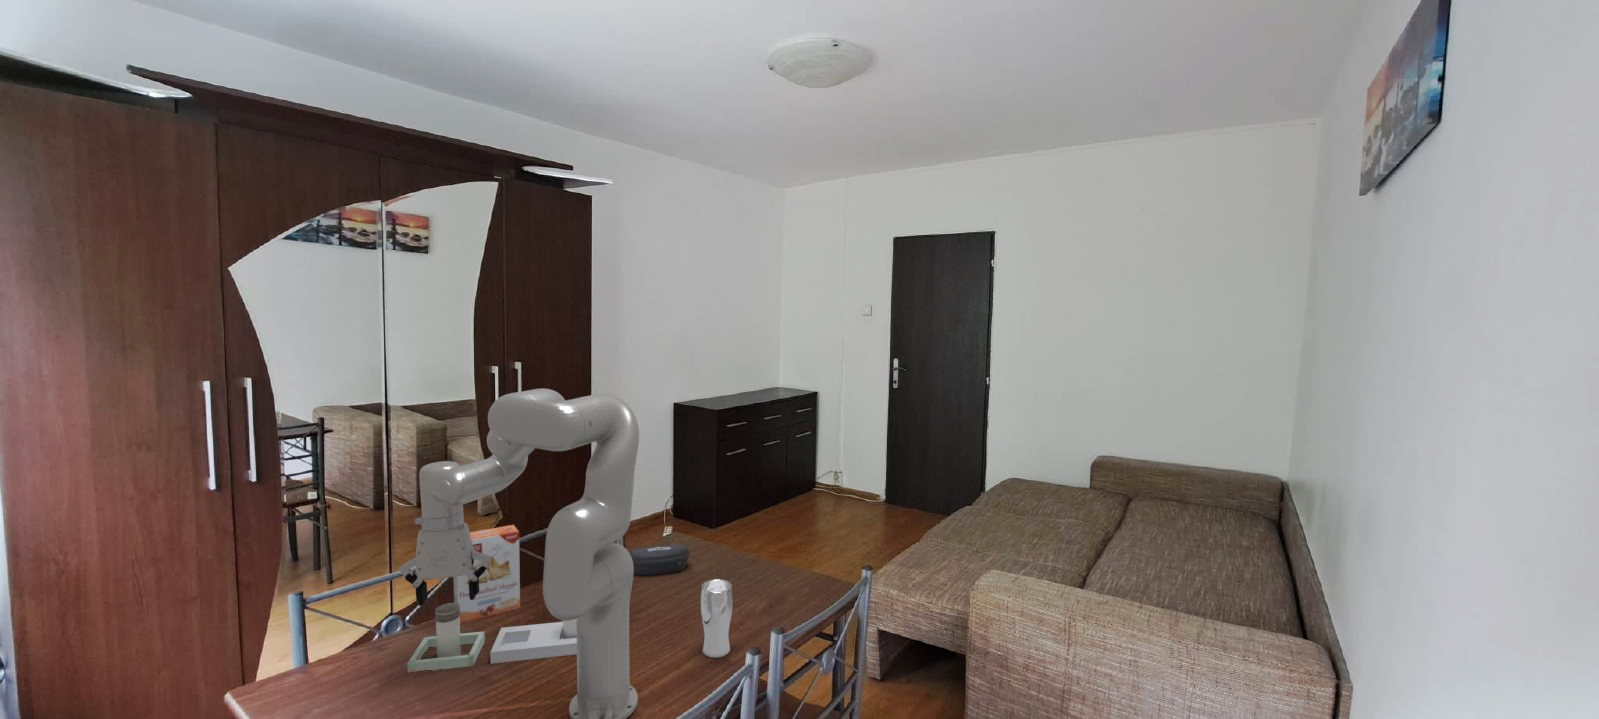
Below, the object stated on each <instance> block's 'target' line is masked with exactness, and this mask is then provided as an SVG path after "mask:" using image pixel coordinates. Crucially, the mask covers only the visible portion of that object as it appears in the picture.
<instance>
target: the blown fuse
mask: <svg viewBox="0 0 1599 719" xmlns="http://www.w3.org/2000/svg"><path fill="white" fill-rule="evenodd" d="M434 614H435V616H434V617H435V618H434V619H435V620H434V621H435V628H436V630H435V632H436V633H435V636H436V638H437V647H436V658H441V657H451V656H460V655H462V654H461V653H462V652H461V650H462V649H461V645H460V634H461V623H460V605H459V604H457V603H454V602H448V603H445V604H441V605H439V606H437V607H436V608H435V611H434Z"/></svg>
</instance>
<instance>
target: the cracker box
mask: <svg viewBox="0 0 1599 719" xmlns="http://www.w3.org/2000/svg"><path fill="white" fill-rule="evenodd" d="M470 535H471V539H472V545H473V550H474V551H477V552H480V553H483V554H486V555H489V556H491V560H490V563H489V565H488V567H487V569H486V570H485V572H484V573H483V574H482V575H481V576H480V577H479V593H478V594H477V595H476V597H475V598H474V600H471V599H470V598H469V581H470V579H469V578H468V577H467V576H466V575H462V576H456V577H452V578H453V603H457V604H459V605H460V624H462V623H463V624H464V623H467V622H472V621H475V620H479V619H482V618H487V617H491V616H494V615H498V614H503V613H506V612H508V611H514V610H516V609H517V610H518V609H520V608H521V583H520V582H521V581H520V580H521V579H520V577H521V576H520V575H521V574H520V572H521V571H520V563H521V562H520V531H519V530H518V528H517V527H516V526H515V524H508V525H504V526H499V527H493V528H488V529H481V530H475V531H470ZM481 565H482V562H481V561H478V560H475V559H474V565H473V566H474V567H475V568H477V569H479V568H480V567H481Z"/></svg>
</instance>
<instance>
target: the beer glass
mask: <svg viewBox="0 0 1599 719" xmlns="http://www.w3.org/2000/svg"><path fill="white" fill-rule="evenodd" d="M732 587H733V586H732V583H731V582H730V581H728V580H725V579H719V578H717V579H715V578H714V579H710V580H706V581H705V582H703V584H701V594H700V614H701V620H702V626H703V632H704V638H703V639H704V641H703V646H702V653H703V655H705V656H706V657H709V658H712V659H713V658H715V659H716V658H722V657H725V656H727V654H729V653H730V651H731V645H730V641H729V631H730V625H731V620H732V614H733V613H732V612H733V590H732Z"/></svg>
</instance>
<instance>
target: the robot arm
mask: <svg viewBox="0 0 1599 719" xmlns="http://www.w3.org/2000/svg"><path fill="white" fill-rule="evenodd" d="M488 410H489V411H488V413H487V423H488V424H487V425H488V428H489V432H488V434H487V436H486V444H487V448H488V450H489V452H490V453H491V454H492V455H491V456H489V457H488V458H486V459H485V458H484V459H481V460H477V461H474V462H471V463H467V464H463V465H461V466H460V464H459V463H458V462H456V461H451V460H444V461H437V462H436V461H435V462H431V463H427V464H425V465H423V466H422V467H421V468H420V470H419V474H418V476H419V492H420V502H421V504H420V505H421V516H420V517H416V518H414V525H419V526H421V529H420V530H418V533H417V540H416V548H415V549H416V552H415V557H414V558H413V559H411V560H409V561H406V562H405V563H403V564H401V566H400V567H399V571H400V572H401V574H402V576H404V579H405V580H406V581H407V582H408V583H409V584H411V585H412V587H413V588H415V598H416V601H418V606H419V607H422V606H423V605H425V603H426V602H427V600H428V599H429V598H428V584H427V582H426V581H427V580H435V579H444V578H445V579H446V578H453V577H456V576H462V575H466V576H467V577H468V578H469V579H470V581H469V598H470V599H471V600H474V598H475V597H476V595H477V594H478V593H479V577H480V576H481V575H482V574H483V573H484V572H485V570H486V569H487V567H488V565H489V563H490V560H491V556H489V555H486V554H483V553H480V552H477V551H474V550H473V545H472V539H471V535H470V532H471V531H470V529H469V528H470V527H469V525H468V523H467V522H465V518H464V516H465V515H464V505H466V504H468V503H472V502H474V501H477V500H479V499H482V498H485V497H488V496H491V495H494V494H496V493H499V492H501V491H503V490H504V489H506V488H508V487H509V486H510V485H511V484H512V483H514V481H516V479H518V477H519V476H521V474H522V473H523V472H524V471H525V469H526V467H527V464H528V460H529V455H530V454H531V453H533V451H534V450H535V449H540V450H544V451H551V452H565V451H568V450H573V449H576V448H578V447H582V446H586V445H588V444H592V443H595V444H596V446H595V448H594V451H593V453H592V454H591V456H590V459H589V460H588V461H589V462H588V463H587V467H586V472H585V484H584V485H585V486H584V491H583V495H582V497H581V498H580V499H579V500H576V501H575V502H573V503H570V504H569V505H566V506H564V507H562V508H561V509H560V510H558V511H557V512H556V513H555V514H554V516H552V519H551V520H550V522H549V524H548V527H547V530H546V533H545V534H546V537H545V544H544V545H545V546H544V562H543V573H542V574H543V575H542V596H543V600H544V603H545V606H546V608H547V610H548V611H549V613H550V614H551V615H552V616H553V617H554V618H556V619H558V620H560V621H562V622H563V621H570V620H574V619H577V622H576V638H577V654H576V679H577V680H576V682H577V685H576V686H577V694H575V696H574V697H573V698H572V699H571V700H570V702H569V706H568V715H569V718H570V719H627V718H628V717H629V716H631V715H632V713H634V712H635V710H636V708H637V707H638V705H639V704H638V703H639V696H638V691H637V690H636V689H635V688H634V687H633V686H632V685H631V684H630V683H631V682H630V600H631V599H630V598H631V594H632V593H631V592H632V587H633V581H634V575H635V574H634V566H633V560H632V557H631V555H630V552H629V550H628V549H627V548H625V547H624V546H623V544H622V545H621V544H619V543H616V541H618V540H620V539H622V537H623V536H625V534H627V532H628V530H629V527H630V525H631V518H632V506H633V496H634V485H635V484H634V482H635V470H636V464H637V462H636V461H637V457H638V450H639V443H640V429H639V428H640V427H639V424H638V420H637V418H636V415H635V412H634V411H633V410H632V408H631V407H630V405H629V404H628V403H627V402H625V400H623V399H622V398H619V397H617V396H616V395H612V394H606V393H604V394H603V393H600V394H599V393H598V394H590V395H586V396H581V397H576V398H573V399H567V400H566V399H565V398H564V396H562V394H560V393H559V392H557V391H556V390H554V389H550V388H534V389H527V390H524V391H518V392H511V393H507V394H504V395H501V396H500V397H499V398H497V399H496V400H495V401H494V402H493V403H492V404H491V406H490V408H489V409H488ZM474 559H475V560H478V561H481V562H482V565H481V567H480V568H479V569H477V568H475V567H474V566H473V565H474ZM413 567H415V572H414V571H412V569H411V568H413Z"/></svg>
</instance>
